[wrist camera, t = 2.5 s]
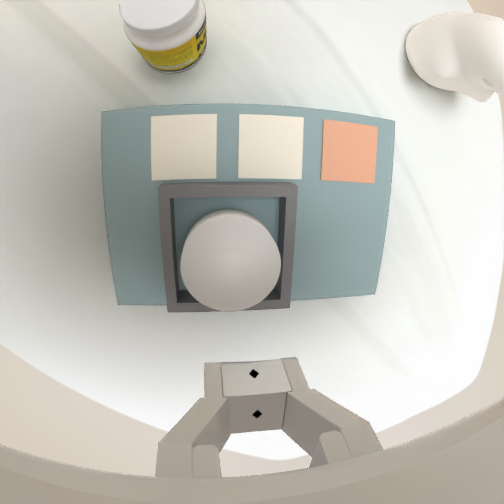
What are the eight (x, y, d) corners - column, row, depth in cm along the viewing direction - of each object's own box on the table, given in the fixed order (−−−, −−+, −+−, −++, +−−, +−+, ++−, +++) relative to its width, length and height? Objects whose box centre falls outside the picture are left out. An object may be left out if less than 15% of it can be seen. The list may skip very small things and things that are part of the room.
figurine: (398, 84, 21) (505, 68, 10) (399, 13, 18) (490, -27, 7) (455, 108, 22) (554, 112, 11) (455, 41, 20) (545, 25, 8)
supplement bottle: (211, 66, 19) (211, 25, 11) (148, 80, 19) (114, 49, 11) (202, 13, 17) (199, -44, 10) (140, 27, 17) (109, -22, 9)
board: (121, 297, 24) (111, 317, 21) (106, 113, 19) (91, 109, 16) (369, 288, 27) (385, 304, 24) (387, 121, 22) (409, 120, 19)
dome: (187, 285, 23) (183, 315, 19) (183, 205, 21) (176, 221, 17) (267, 282, 23) (279, 312, 19) (270, 204, 21) (285, 219, 17)
